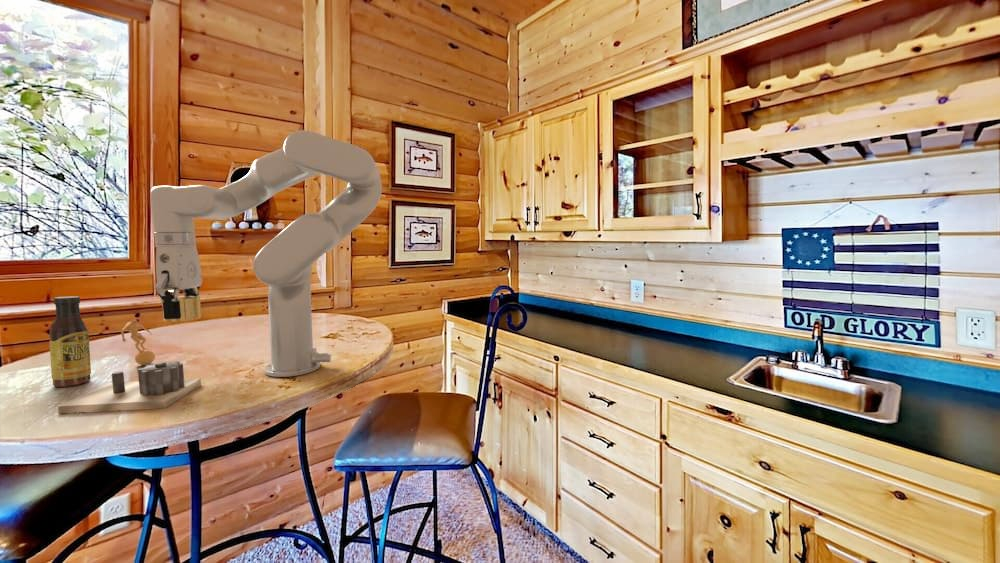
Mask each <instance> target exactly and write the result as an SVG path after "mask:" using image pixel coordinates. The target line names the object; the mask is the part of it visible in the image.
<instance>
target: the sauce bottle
mask: <svg viewBox="0 0 1000 563" xmlns="http://www.w3.org/2000/svg"><path fill="white" fill-rule="evenodd" d="M80 303H81V300H80V296H78V295H76V296H74V295H73V296H71V295H70V296H57V297H54V298H53V304H54V305H55V313H56V314H55V317H56V318H55V320H54V321H53V322H52V323H51V325H50V328H49V341H48V342H49V354H50V372H51V373H50V374H51V380H52V386H53V387H56V388H67V387H73V386H78V385H83V384H85V383H88V382H90V380H91V374H92V368H91V353H90V334H89V330H88V328H87V326H86V324H85V322H84V320H83V319H82V317H81V312H80Z"/></svg>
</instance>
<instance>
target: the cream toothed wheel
mask: <svg viewBox="0 0 1000 563" xmlns="http://www.w3.org/2000/svg"><path fill="white" fill-rule="evenodd" d="M177 301H180V312H181V318H179V319H164V312H163V311H162V316H163V317H162V318H163V322H172V323H173V322H174V323H175V322H182V321H183V322H184V321H192V320H194V319H195V320H197V319H201V318H202V306H201V305H202V304H201V296H200V295H199V296H185V295H183V296H182V295H181V296H178V299H177ZM161 306H162V309H163V302H161Z"/></svg>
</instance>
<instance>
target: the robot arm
mask: <svg viewBox="0 0 1000 563" xmlns="http://www.w3.org/2000/svg"><path fill="white" fill-rule="evenodd" d="M319 174H320V175H324V176H327V177H330V178H334V179H337V180H340V181H344V182H346V183H347V186H346V187H345V189H344V190H343V191H342V192H341V193H339V194H338V195H336V197H334V198H333V199H332V200H331V201H330V202H329V203H328V204H327V205H326V206H324V207H323V208H322V209H321V210H319V211H318V212H317V213H316V212H312V213H306V214H303V215H300V216H299V217H298V218H296V219H294V220H293V221H292V222H291V223H289V225H287V226H286V227H284V228H283V230H281V231H280V232H279V233H278V234H276V236H275V237H273V238H272V239H271V240H270V241H268V243H267V244H265V245H264V246H263V247H262V248H261V249H260V250H259V251H258V252H257V253H256V255H255V256H254V260H253V262H252V264H253V265H252V266H253V269H252V270H253V272H254V274H255V277H256V278H257V279H258V281H260V282H261V283H263V284H264V285H267V286H268V295H267V302H268V322H269V325H268V326H269V340H270V356H271V357H270V359H271V363H269V364H267V365H266V366H265V367H264V373H265V375H267V376H269V377H275V378H287V377H289V378H290V377H296V376H302V375H307V374H310V373H312V372H315V371H316V370H318V369H319V368H320V367H321V363H331V361H332V355H331V354H329V353H328V352H323V353H322V352H321V353H319V352H317V348H316V347H315V348H314V343H313V342H314V340H313V339H314V338H313V319H312V272H313V270H312V269H313V268H312V267H313V266H312V265H313V264H314V263H315V262H316V261H317V260H318V259H320V258H321V257H322V256H323V255H324V254H326V253H330V252H331V251H333V250H334V249H336V248H337V246H338V245H339V244H340V243H341V242H342V241H344V240H345V239H346V238H347V237H348V236H349V235H350V234H351V233H352V232H353V231H354V230H356V228H358V226H360V225H361V223H363V222H364V221H365V220H366V219H367V218H368V217H369V216H370V215H371V214H372V213H373V212H374V211H375V209H376V208H377V206H378V204H379V203H380V201H381V200H380V199H381V197H382V192H383V184H382V183H383V182H382V178H381V174H380V170H379V168H378V165H377V163H376V161H375V159H374V158H373V156H372V155H371V154H370V153H369V151H367V150H366V149H364V148H362V147H360V146H357V145H355V144H351V143H350V142H349V143H348V142H345V141H343V140H340V139H335V138H333V137H329V136H326V135H323V134H319V133H317V132H314V131H310V130H304V129H303V130H302V129H300V130H297V131H295V130H294V131H293V132H292V133H290V134H289V135H287V137H286V138H285V140H284V143H283V146H282V147H281V148H278V149H276V150H274V151H272V152H270V153H267V154H265V155H263V156H260V157H258V158H256V159H255V160H254V161H253V162H252V164H251V166H250V170H249V171H248V173H247V174H246V175H244V176H243V177H242V178H240V179H238V180H236V181H234V182H231V183H230V184H227V185H225V186H222V187H220V188H218V187H215V186H209V185H204V184H195V185H188V186H187V185H185V186H175V185H157V186H153V187H152V188H151V189H150V191H149V192H150V197H149V198H150V204H151V215H152V224H153V232H154V233H153V235H154V243H155V244H154V245H155V248H156V252H155V253H156V255H155V269H156V270H155V272H156V284H155V285H154V289H155V291H156V292H157V294H158V296H159V297H160V302H161V303H162V302H163V308H162V313H163V312H164V318H163V320H164V319H179V318H181V312H180V301H177V299H178V297H179V295H180V290H181V291H182V293H183V296H200V292H199V290H200V288H201V287H200V286H202V284H203V274H202V269H201V262H200V261H201V260H200V256H199V252H198V248H197V239H196V231H195V219H194V218H200V219H209V220H229V219H231V218H232V219H233V218H234V217H236V216H238V215H240V214H243V213H245V212H248V211H249V210H252V209H254V208H256V207H258V206H259V205H261V204H262V203H264V202H266V201H267V200H269V199H271V198H272V197H273V196H275V195H276V194H277V193H279V192H283V191H284V190H286V189H288V188H291V187H292V186H294V185H297V184H299V183H301V182H304V181H305V180H308V179H311V178H313V177H314V176H316V175H319Z"/></svg>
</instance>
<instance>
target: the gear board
mask: <svg viewBox="0 0 1000 563" xmlns="http://www.w3.org/2000/svg"><path fill="white" fill-rule="evenodd" d="M137 373H138V374H137V377H138V381H136V380H135V381H125V375H124V371H116V372H112V373H111V380H112V382H108V383H106V384H104V385H102V386H101V385H100V386H99V387H97V388H94V389H93V390H91V391H88V392H86V393H84V394H82V395H80V396H78V397H75V398H73V399H72V400H71V399H70V400H69V401H67V402H64V403H62V404H61V405H57V411H58V414H59V415H61V414H60V413H68V414H80V413H79V412H85V413H96V412H97V413H100V412H101V411H102V412H116V411H117V412H118V410H121V411H132V410H133V411H134V410H139V411H140V410H148V409H149V410H152V409H153V410H156V409H167V408H168V407H169V406H171V405H172V404H174V403H175V402H178V400H181V399H182V398H183V397H185V396H186V395H188V394H189V393H191V392H193V391H194V390H196V389H197V388H199V387H200V386H202V380H201V378H185V377H184V376H185V375H184V374H185V373H184V363H180V361H171V362H167V361H161V362H157V363H153V364H148V365H144V367H141V368H138V369H137ZM72 412H73V413H72ZM74 412H76V413H74Z"/></svg>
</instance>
